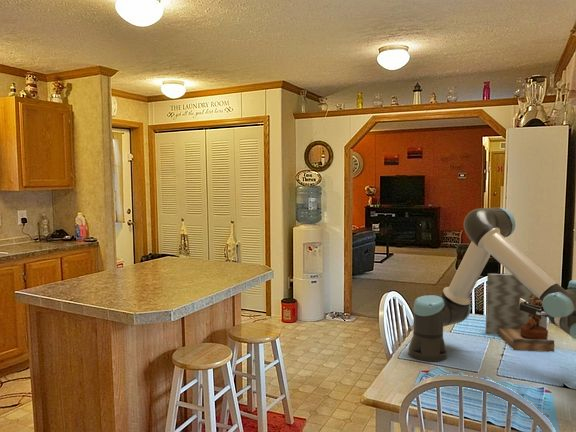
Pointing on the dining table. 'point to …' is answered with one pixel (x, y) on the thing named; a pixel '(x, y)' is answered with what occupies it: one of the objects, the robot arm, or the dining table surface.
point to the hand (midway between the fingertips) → (538, 302)
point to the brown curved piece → (530, 328)
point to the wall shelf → (511, 313)
